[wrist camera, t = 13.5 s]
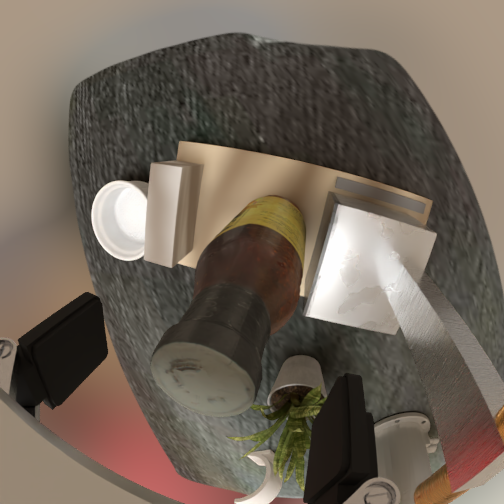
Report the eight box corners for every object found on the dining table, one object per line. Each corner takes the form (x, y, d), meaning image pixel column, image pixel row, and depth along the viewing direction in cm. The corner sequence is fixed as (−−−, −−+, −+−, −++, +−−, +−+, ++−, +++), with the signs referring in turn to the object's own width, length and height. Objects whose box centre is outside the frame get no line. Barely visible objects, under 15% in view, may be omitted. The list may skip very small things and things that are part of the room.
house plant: (367, 395, 34) (375, 492, 19) (278, 413, 39) (259, 503, 23) (345, 319, 31) (359, 435, 16) (239, 346, 35) (197, 450, 20)
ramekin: (152, 162, 29) (131, 165, 25) (186, 232, 31) (168, 243, 27) (103, 197, 32) (80, 204, 28) (132, 258, 34) (113, 271, 30)
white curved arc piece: (248, 452, 44) (233, 502, 33) (275, 448, 42) (264, 502, 31) (259, 462, 45) (247, 510, 34) (286, 458, 43) (277, 509, 32)
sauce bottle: (247, 187, 26) (110, 268, 8) (313, 200, 26) (317, 322, 7) (237, 252, 29) (129, 400, 10) (298, 265, 28) (268, 445, 10)
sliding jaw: (409, 214, 24) (583, 377, 3) (380, 297, 27) (440, 512, 6) (328, 191, 25) (407, 376, 4) (305, 279, 28) (273, 519, 7)
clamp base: (425, 197, 25) (455, 211, 18) (387, 307, 30) (401, 343, 23) (187, 141, 28) (154, 139, 21) (174, 254, 33) (143, 278, 26)
